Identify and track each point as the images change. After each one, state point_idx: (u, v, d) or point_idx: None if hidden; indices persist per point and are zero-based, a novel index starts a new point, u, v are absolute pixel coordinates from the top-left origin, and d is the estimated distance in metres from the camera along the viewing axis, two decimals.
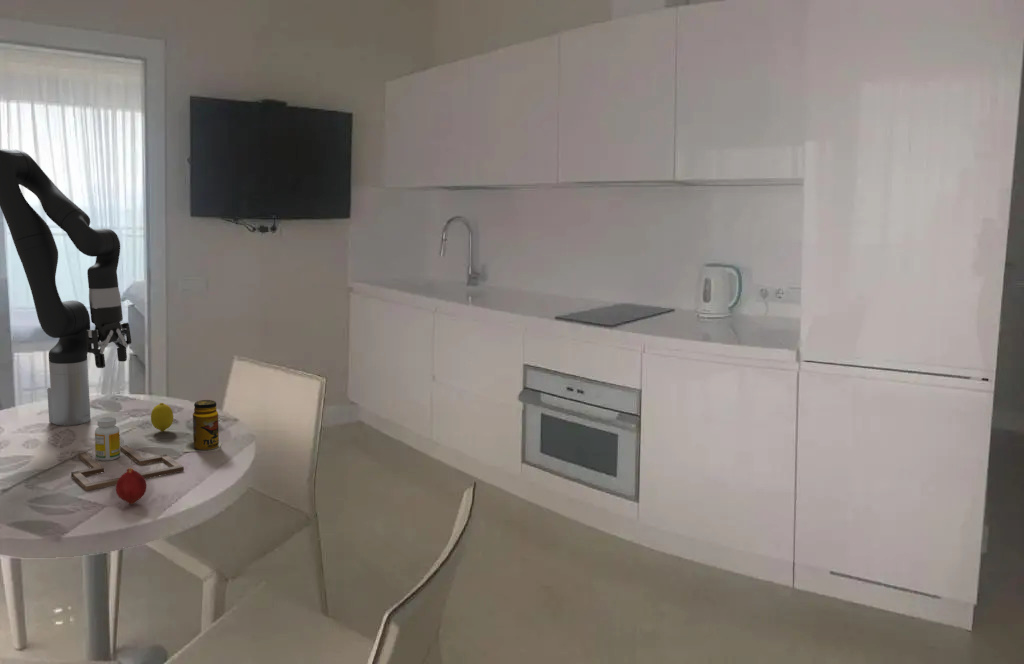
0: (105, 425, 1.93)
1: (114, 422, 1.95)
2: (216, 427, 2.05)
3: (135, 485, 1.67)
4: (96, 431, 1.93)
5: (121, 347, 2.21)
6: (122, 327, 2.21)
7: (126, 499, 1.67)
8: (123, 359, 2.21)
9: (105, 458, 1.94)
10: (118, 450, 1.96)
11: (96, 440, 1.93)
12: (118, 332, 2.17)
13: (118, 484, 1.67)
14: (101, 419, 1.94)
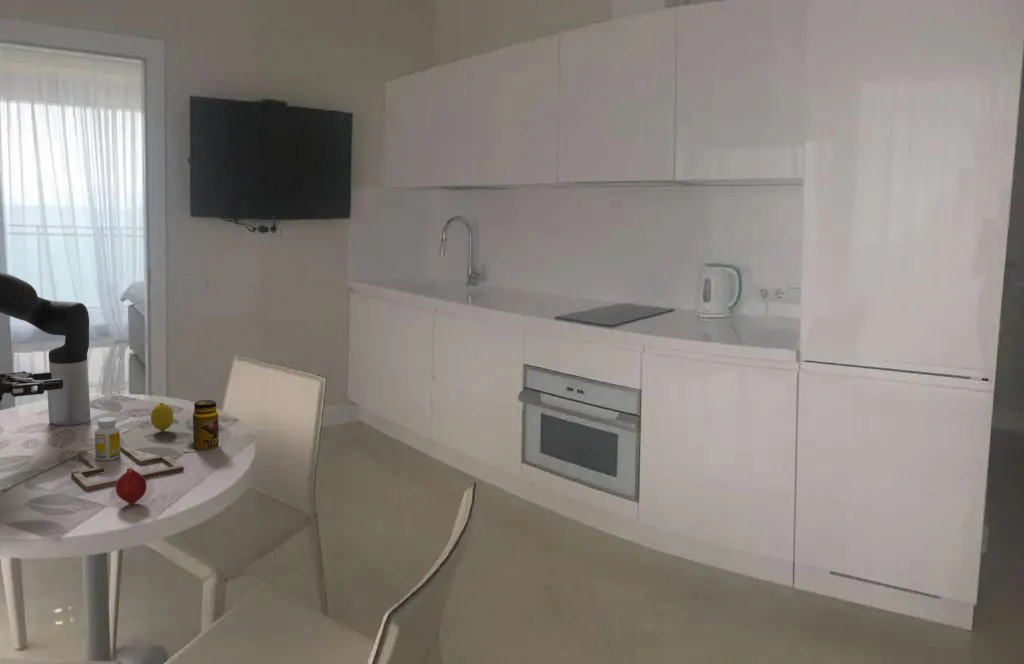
0: (105, 425, 1.93)
1: (114, 422, 1.95)
2: (216, 427, 2.05)
3: (135, 485, 1.67)
4: (96, 431, 1.93)
5: None
6: None
7: (126, 499, 1.67)
8: None
9: (105, 458, 1.94)
10: (118, 450, 1.96)
11: (96, 440, 1.93)
12: None
13: (118, 484, 1.67)
14: (101, 419, 1.94)
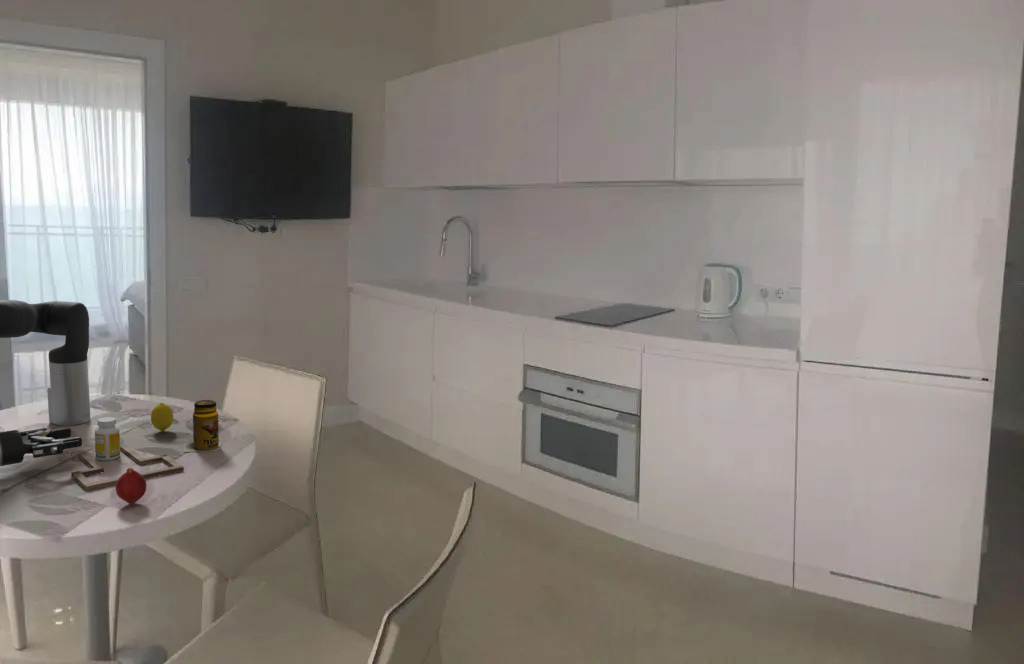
0: (105, 425, 1.93)
1: (114, 422, 1.95)
2: (216, 427, 2.05)
3: (135, 485, 1.67)
4: (96, 431, 1.93)
5: None
6: None
7: (126, 499, 1.67)
8: None
9: (105, 458, 1.94)
10: (118, 450, 1.96)
11: (96, 440, 1.93)
12: None
13: (118, 484, 1.67)
14: (101, 419, 1.94)
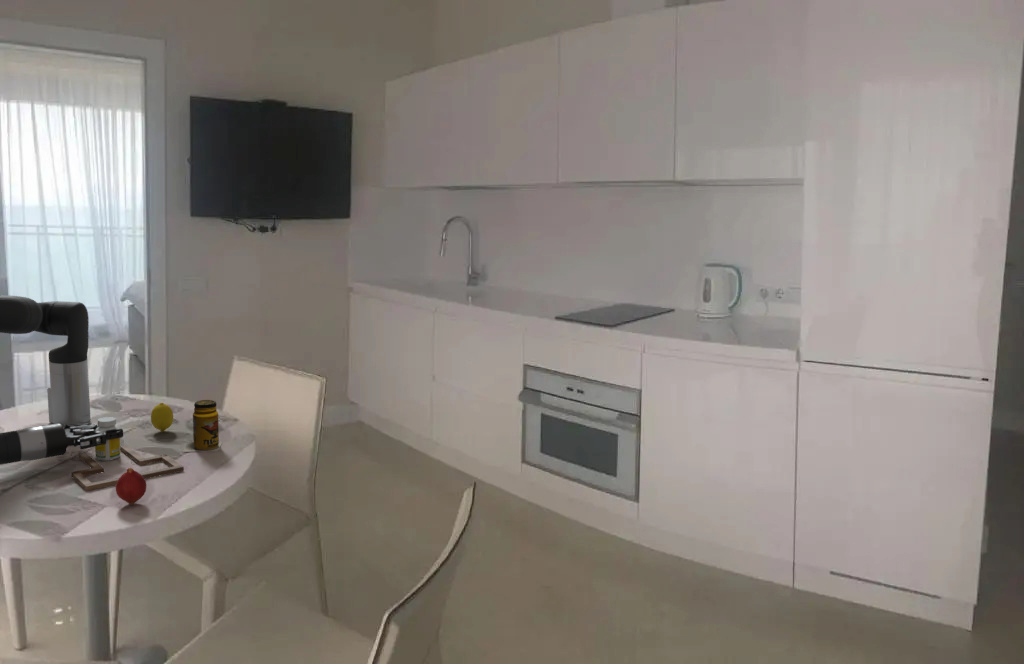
0: (105, 425, 1.93)
1: (114, 422, 1.95)
2: (216, 427, 2.05)
3: (135, 485, 1.67)
4: None
5: None
6: None
7: (126, 499, 1.67)
8: None
9: (105, 458, 1.94)
10: (118, 450, 1.96)
11: None
12: None
13: (118, 484, 1.67)
14: (101, 419, 1.94)
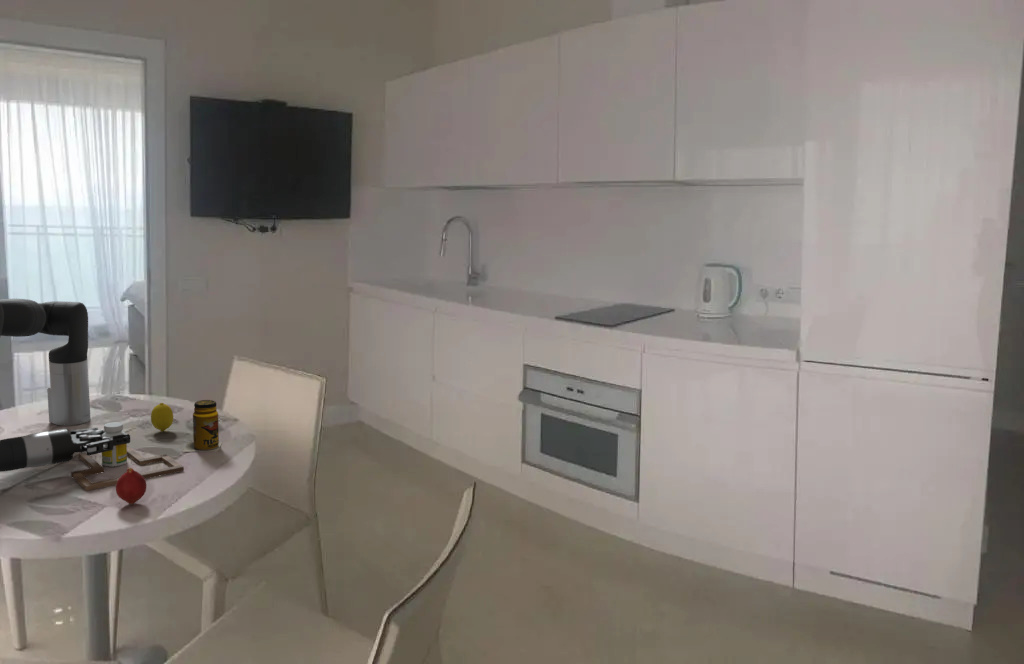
0: (112, 431, 1.89)
1: (121, 427, 1.91)
2: (216, 427, 2.05)
3: (135, 485, 1.67)
4: (103, 436, 1.89)
5: None
6: None
7: (126, 499, 1.67)
8: None
9: (112, 464, 1.90)
10: (125, 456, 1.92)
11: None
12: None
13: (118, 484, 1.67)
14: (108, 424, 1.91)
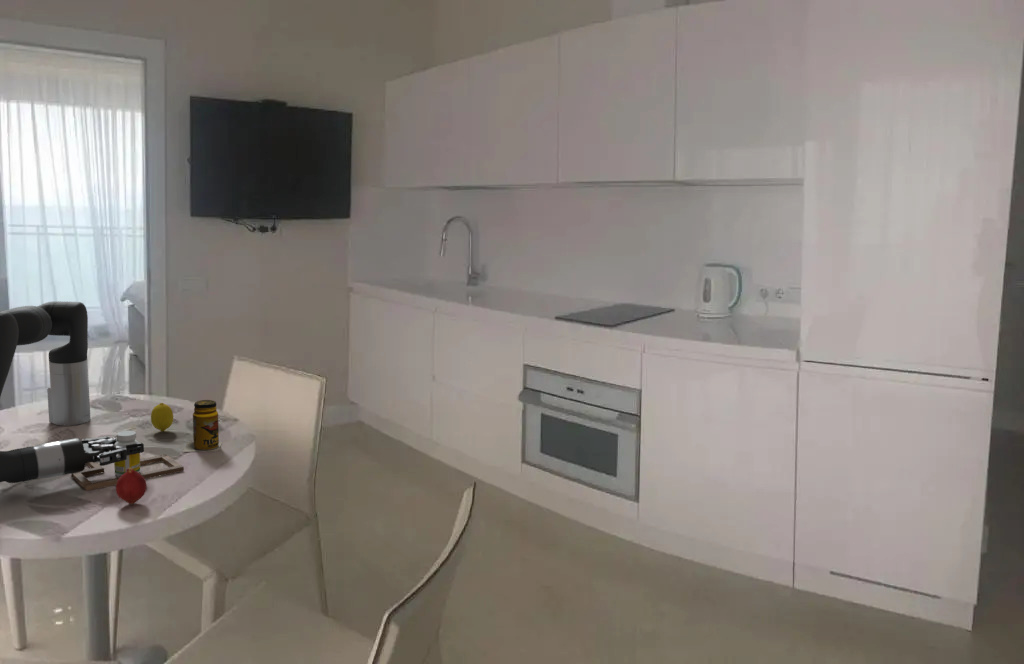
0: (125, 440, 1.83)
1: (134, 436, 1.85)
2: (216, 427, 2.05)
3: (135, 485, 1.67)
4: None
5: None
6: None
7: (126, 499, 1.67)
8: None
9: None
10: (138, 465, 1.86)
11: None
12: None
13: (118, 484, 1.67)
14: (120, 433, 1.85)
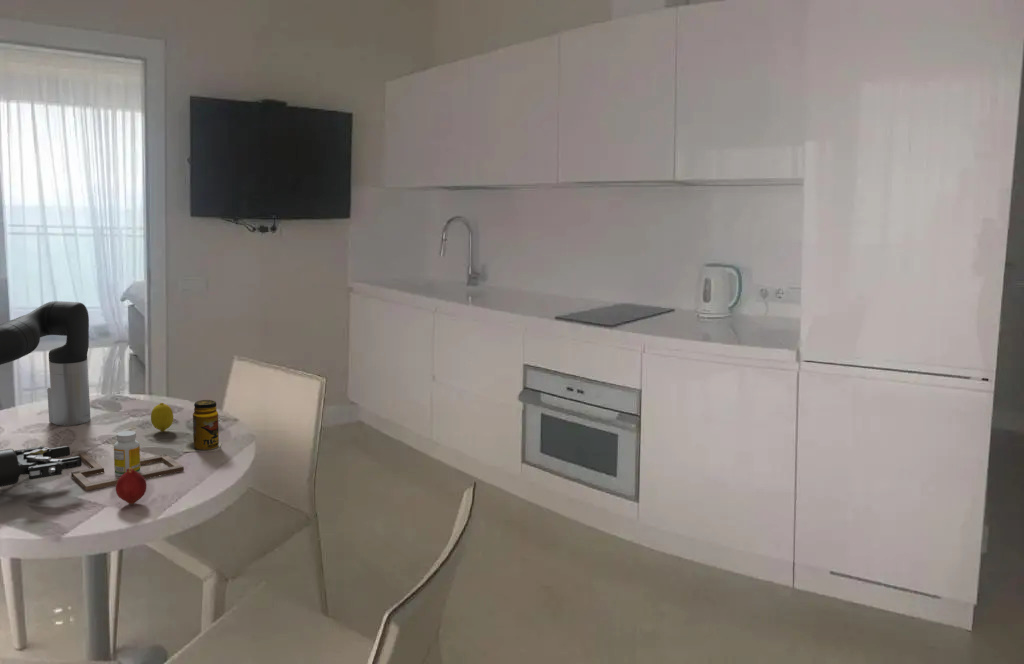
0: (125, 440, 1.83)
1: (134, 436, 1.85)
2: (216, 427, 2.05)
3: (135, 485, 1.67)
4: (115, 446, 1.83)
5: None
6: None
7: (126, 499, 1.67)
8: None
9: None
10: (138, 465, 1.86)
11: (115, 455, 1.84)
12: None
13: (118, 484, 1.67)
14: (120, 433, 1.85)
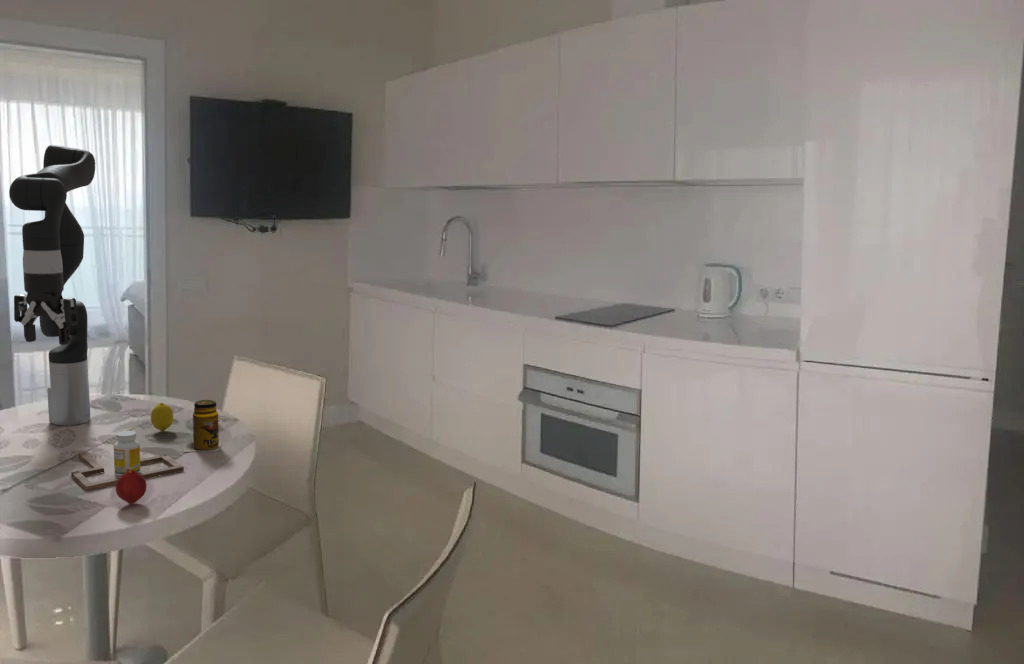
0: (125, 440, 1.83)
1: (134, 436, 1.85)
2: (216, 427, 2.05)
3: (135, 485, 1.67)
4: (115, 446, 1.83)
5: None
6: None
7: (126, 499, 1.67)
8: None
9: None
10: (138, 465, 1.86)
11: (115, 455, 1.84)
12: (44, 306, 1.77)
13: (118, 484, 1.67)
14: (120, 433, 1.85)
